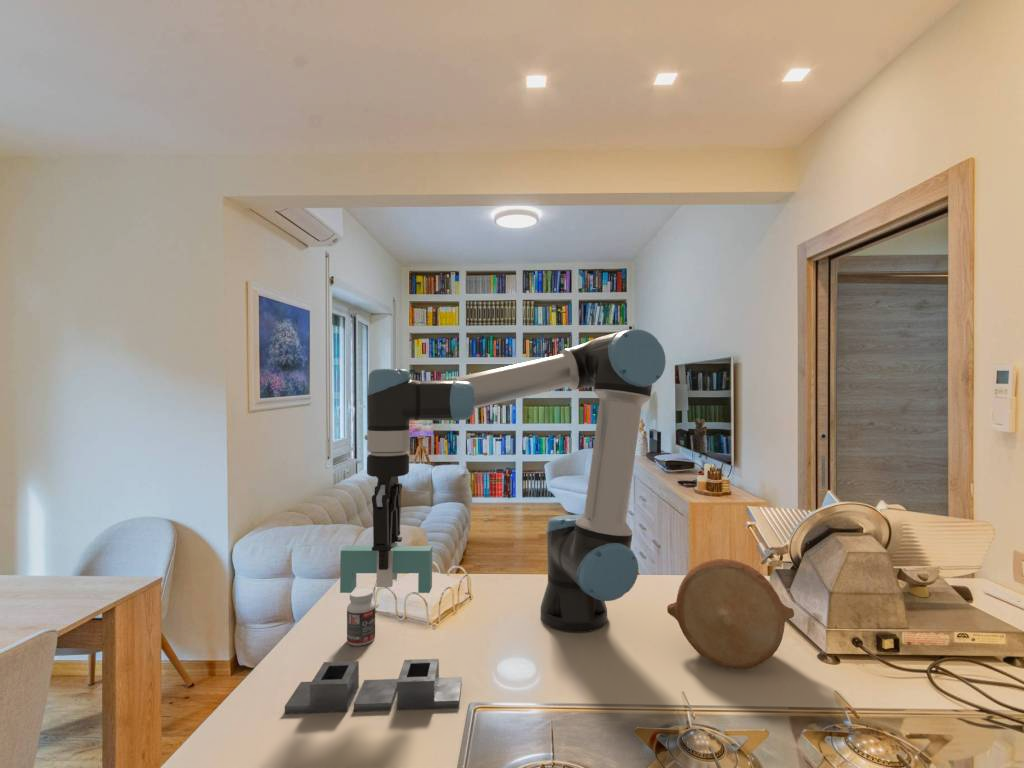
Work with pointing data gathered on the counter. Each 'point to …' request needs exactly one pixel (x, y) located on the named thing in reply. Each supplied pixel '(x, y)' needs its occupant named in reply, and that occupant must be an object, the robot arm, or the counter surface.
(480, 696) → the counter surface
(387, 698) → the rail
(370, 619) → the pill bottle
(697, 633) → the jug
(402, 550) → the clip
